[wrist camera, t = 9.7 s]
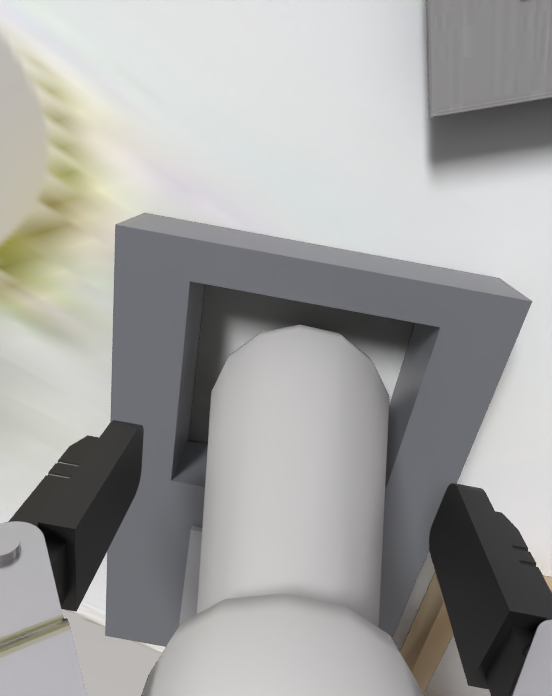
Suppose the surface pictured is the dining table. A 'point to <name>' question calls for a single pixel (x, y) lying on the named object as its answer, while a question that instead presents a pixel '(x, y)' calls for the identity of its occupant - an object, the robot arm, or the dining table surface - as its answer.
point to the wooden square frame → (430, 634)
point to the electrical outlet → (487, 54)
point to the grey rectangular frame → (179, 375)
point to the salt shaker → (291, 530)
